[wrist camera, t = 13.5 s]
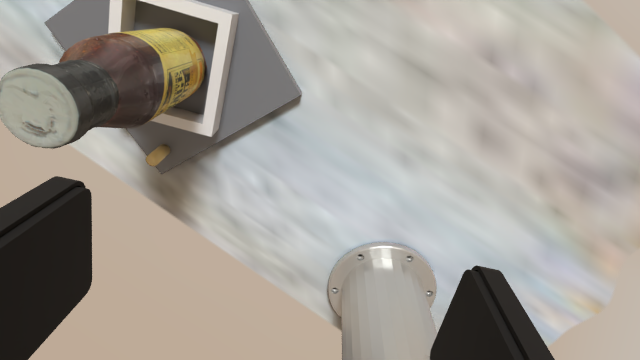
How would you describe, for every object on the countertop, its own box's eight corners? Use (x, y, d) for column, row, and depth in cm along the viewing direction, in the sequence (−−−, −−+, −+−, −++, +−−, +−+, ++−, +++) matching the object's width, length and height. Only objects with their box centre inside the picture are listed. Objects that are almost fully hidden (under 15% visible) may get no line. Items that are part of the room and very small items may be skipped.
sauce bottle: (179, 108, 40) (44, 201, 21) (129, 56, 38) (-63, 110, 20) (226, 64, 38) (123, 126, 20) (177, 8, 36) (12, 18, 18)
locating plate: (301, 92, 40) (297, 102, 36) (166, 169, 44) (149, 186, 40) (198, -86, 34) (180, -97, 30) (52, 22, 38) (20, 24, 34)
